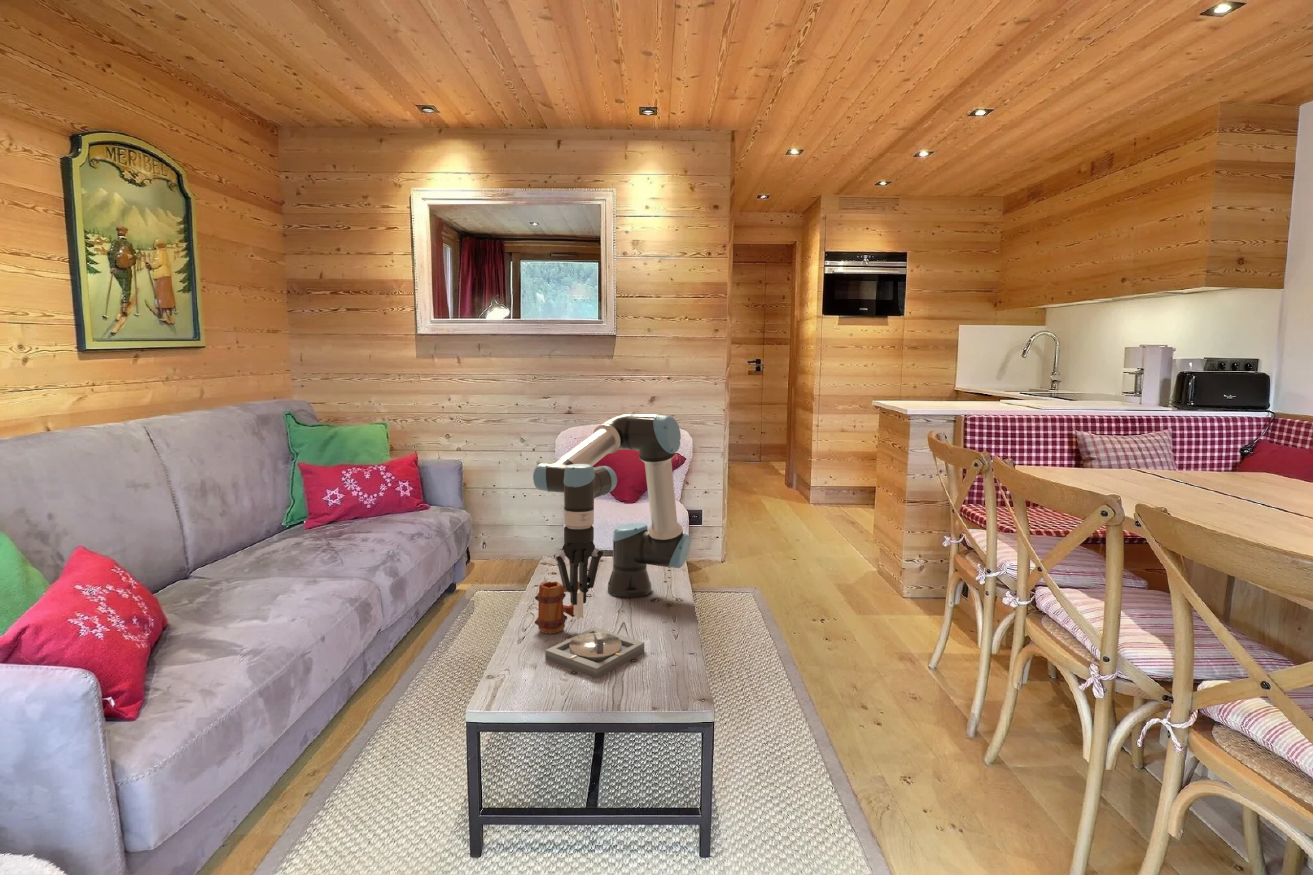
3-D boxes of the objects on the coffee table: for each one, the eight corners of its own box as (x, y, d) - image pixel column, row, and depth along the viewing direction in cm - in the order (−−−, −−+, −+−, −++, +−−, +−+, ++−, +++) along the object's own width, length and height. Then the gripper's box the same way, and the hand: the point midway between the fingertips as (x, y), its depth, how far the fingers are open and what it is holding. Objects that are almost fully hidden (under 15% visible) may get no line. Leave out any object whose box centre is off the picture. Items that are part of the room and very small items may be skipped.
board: (594, 635, 199) (594, 625, 198) (644, 651, 188) (644, 641, 188) (545, 659, 183) (545, 648, 182) (596, 678, 172) (596, 667, 172)
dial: (566, 642, 190) (566, 621, 190) (615, 637, 194) (616, 617, 193) (573, 663, 177) (573, 641, 176) (626, 658, 180) (626, 636, 180)
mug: (536, 637, 197) (535, 587, 195) (533, 627, 205) (533, 578, 203) (586, 633, 201) (586, 583, 199) (582, 622, 209) (582, 574, 207)
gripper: (560, 531, 167) (559, 625, 169) (608, 526, 173) (607, 616, 175) (549, 525, 173) (549, 615, 176) (596, 520, 179) (595, 607, 182)
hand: (578, 615), depth 176 cm, fingers closed
